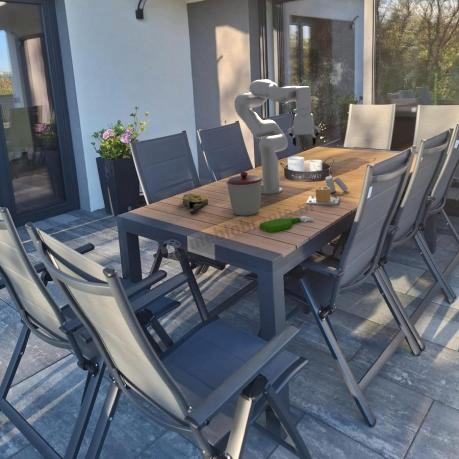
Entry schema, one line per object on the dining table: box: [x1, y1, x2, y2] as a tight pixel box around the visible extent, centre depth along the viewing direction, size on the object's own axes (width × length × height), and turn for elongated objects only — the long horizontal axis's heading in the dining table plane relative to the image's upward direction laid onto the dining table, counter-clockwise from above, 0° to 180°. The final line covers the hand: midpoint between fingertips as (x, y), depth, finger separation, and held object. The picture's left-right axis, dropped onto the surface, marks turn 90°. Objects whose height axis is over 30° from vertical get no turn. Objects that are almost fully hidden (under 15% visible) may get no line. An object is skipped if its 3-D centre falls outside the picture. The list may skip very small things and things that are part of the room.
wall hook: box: [325, 175, 349, 194], centre depth 269 cm, size 8×10×10 cm
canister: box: [225, 171, 263, 217], centre depth 240 cm, size 18×18×21 cm
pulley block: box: [182, 193, 209, 214], centre depth 260 cm, size 14×6×30 cm
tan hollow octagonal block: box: [315, 186, 331, 201], centre depth 252 cm, size 7×7×6 cm
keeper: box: [305, 188, 341, 206], centre depth 253 cm, size 16×12×7 cm
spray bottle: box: [259, 215, 315, 234], centre depth 221 cm, size 3×11×24 cm
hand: (304, 145), depth 253 cm, fingers open, 9 cm apart
